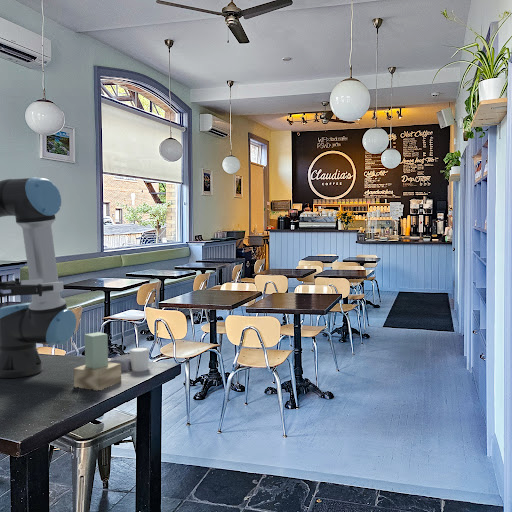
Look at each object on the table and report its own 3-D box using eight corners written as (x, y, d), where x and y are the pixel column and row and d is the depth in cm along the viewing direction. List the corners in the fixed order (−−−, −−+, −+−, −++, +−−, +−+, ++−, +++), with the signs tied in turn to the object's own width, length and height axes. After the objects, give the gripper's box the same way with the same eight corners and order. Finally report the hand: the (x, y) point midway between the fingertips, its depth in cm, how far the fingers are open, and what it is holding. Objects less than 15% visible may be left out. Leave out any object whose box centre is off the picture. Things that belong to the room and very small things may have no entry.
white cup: (154, 367, 188) (153, 347, 187) (142, 372, 182) (141, 352, 181) (137, 365, 191) (137, 346, 190) (125, 370, 184) (125, 350, 184)
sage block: (85, 366, 169) (84, 334, 168) (99, 363, 172) (99, 331, 172) (93, 369, 165) (92, 336, 165) (108, 365, 169) (107, 334, 168)
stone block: (103, 376, 185) (129, 371, 183) (100, 362, 185) (127, 357, 183) (119, 368, 197) (144, 364, 194) (116, 355, 197) (141, 350, 195)
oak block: (74, 387, 166) (73, 368, 166) (96, 379, 176) (95, 360, 175) (100, 391, 162) (99, 371, 162) (121, 382, 171) (120, 363, 171)
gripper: (-40, 301, 154) (35, 293, 169) (-8, 310, 137) (72, 301, 151) (-41, 274, 154) (34, 269, 169) (-9, 280, 136) (71, 274, 151)
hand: (52, 284), depth 160 cm, fingers open, 13 cm apart
